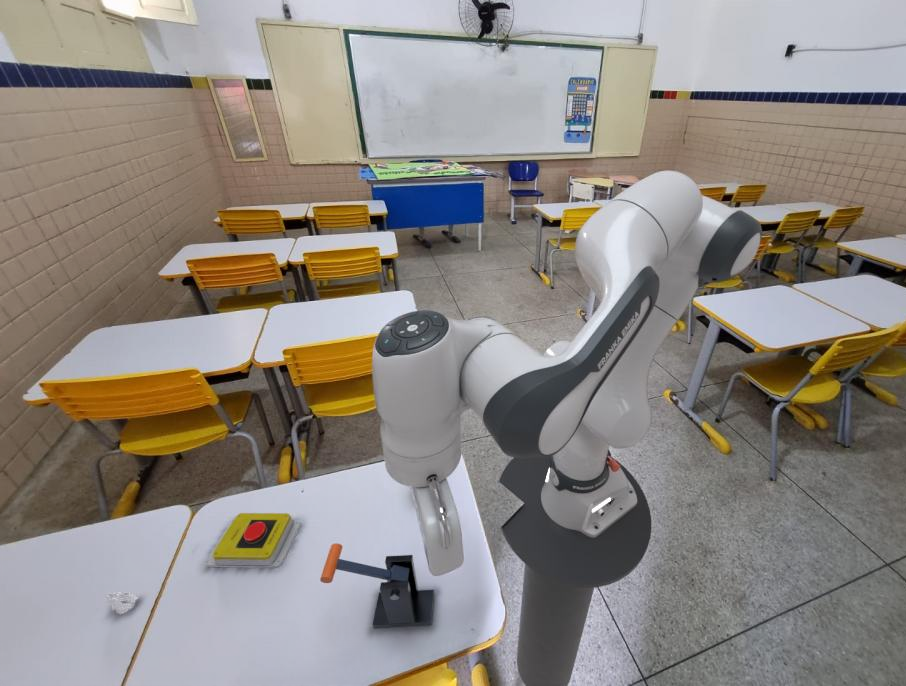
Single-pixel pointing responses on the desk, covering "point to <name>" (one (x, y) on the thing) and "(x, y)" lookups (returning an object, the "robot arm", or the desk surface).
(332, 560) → the switch lever
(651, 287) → the robot arm
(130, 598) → the white crumpled lump
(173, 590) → the desk surface
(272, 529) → the emergency button
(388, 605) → the switch bracket
